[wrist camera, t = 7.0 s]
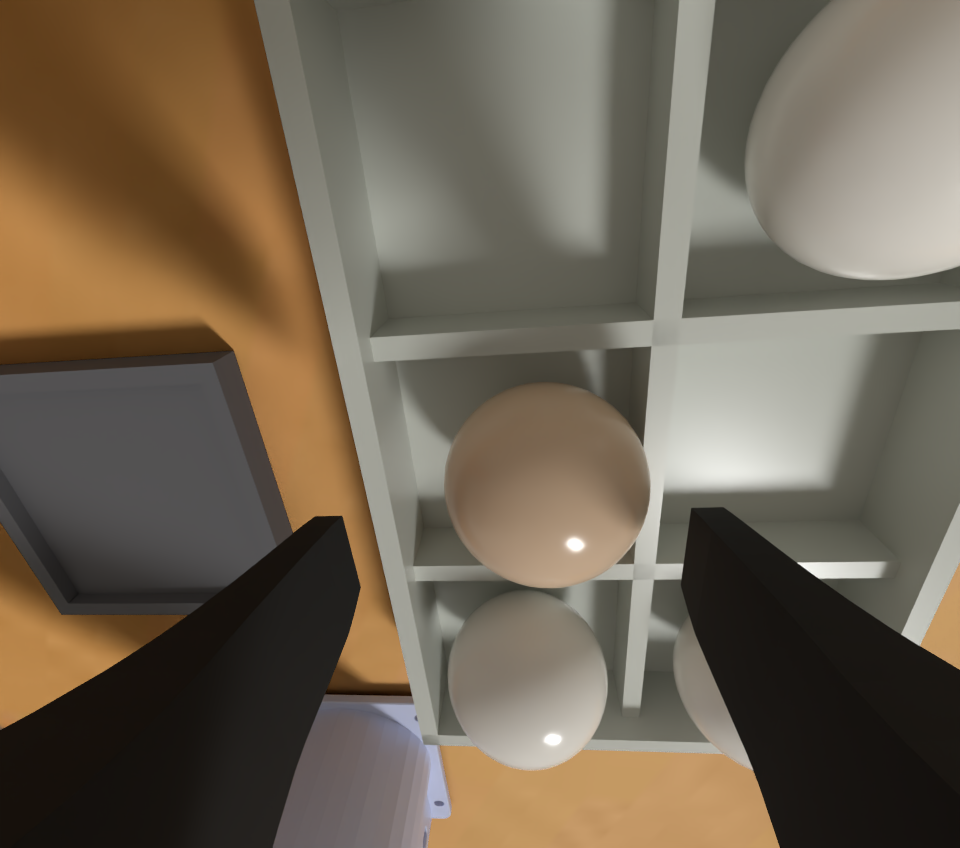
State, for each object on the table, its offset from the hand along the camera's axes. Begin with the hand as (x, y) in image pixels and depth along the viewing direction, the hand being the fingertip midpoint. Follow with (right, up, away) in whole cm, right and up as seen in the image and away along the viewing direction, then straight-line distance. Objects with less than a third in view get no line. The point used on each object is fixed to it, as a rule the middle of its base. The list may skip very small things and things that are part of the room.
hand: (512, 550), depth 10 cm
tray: (+4, +3, +5) cm, 7 cm away
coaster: (-13, 0, +7) cm, 15 cm away
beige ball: (0, +2, +4) cm, 5 cm away
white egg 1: (+1, -4, +7) cm, 8 cm away
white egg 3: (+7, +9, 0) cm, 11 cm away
